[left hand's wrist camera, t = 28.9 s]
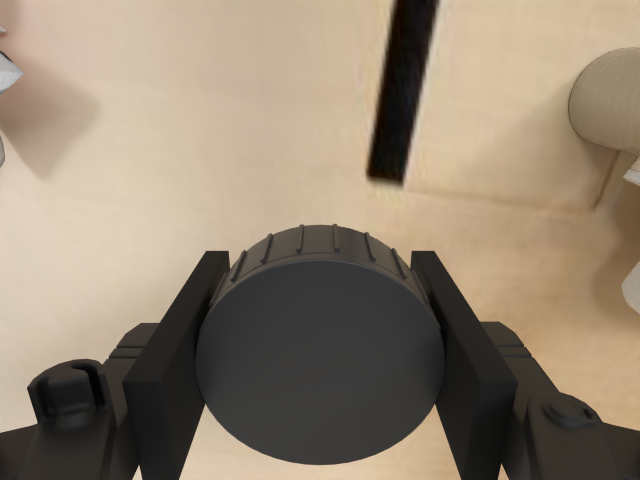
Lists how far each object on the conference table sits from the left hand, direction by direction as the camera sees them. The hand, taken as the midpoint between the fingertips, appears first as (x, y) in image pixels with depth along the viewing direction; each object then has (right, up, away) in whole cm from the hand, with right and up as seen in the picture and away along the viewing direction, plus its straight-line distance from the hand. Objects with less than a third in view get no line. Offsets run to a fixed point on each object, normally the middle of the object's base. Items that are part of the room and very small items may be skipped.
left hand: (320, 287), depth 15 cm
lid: (0, -2, -4) cm, 4 cm away
